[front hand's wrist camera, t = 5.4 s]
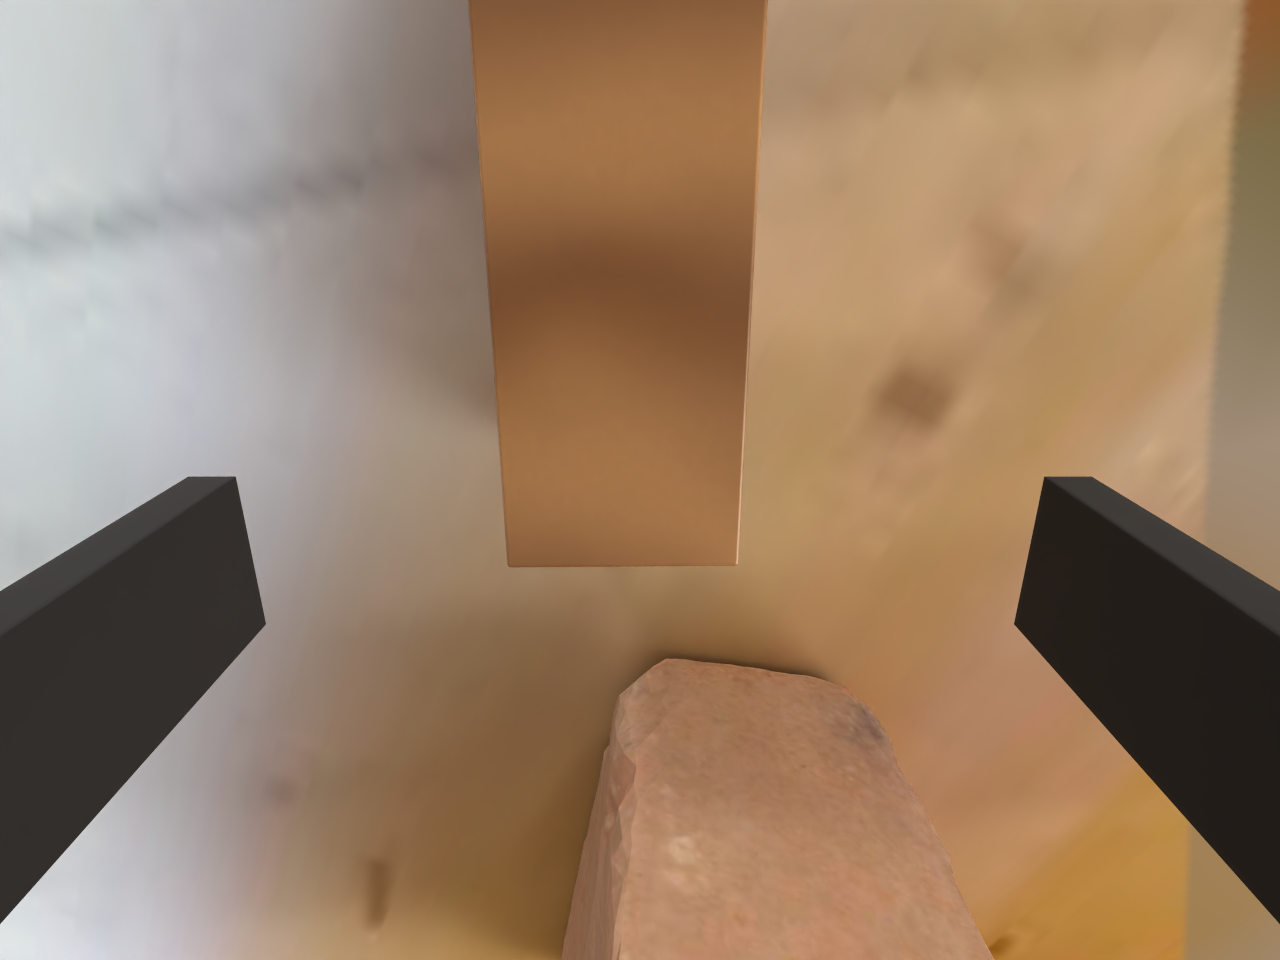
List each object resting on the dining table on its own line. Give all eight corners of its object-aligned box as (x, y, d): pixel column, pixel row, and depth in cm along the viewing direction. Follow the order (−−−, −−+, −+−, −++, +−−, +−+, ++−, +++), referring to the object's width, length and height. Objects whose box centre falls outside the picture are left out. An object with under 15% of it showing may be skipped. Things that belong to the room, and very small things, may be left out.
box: (702, 446, 29) (738, 566, 19) (547, 447, 29) (507, 568, 19) (726, -333, 21) (809, -783, 11) (511, -335, 21) (411, -790, 11)
